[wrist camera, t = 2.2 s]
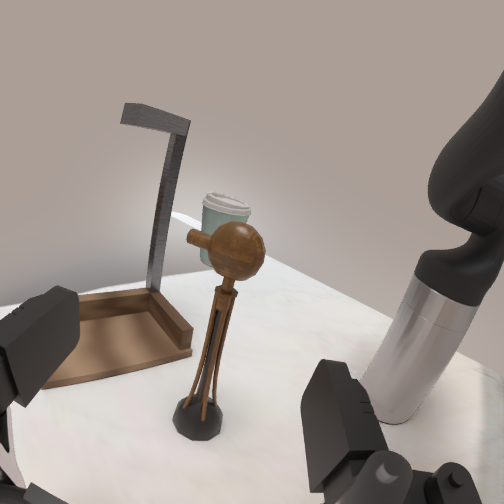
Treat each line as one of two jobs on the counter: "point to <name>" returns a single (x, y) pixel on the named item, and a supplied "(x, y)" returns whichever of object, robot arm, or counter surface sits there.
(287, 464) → the counter surface
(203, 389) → the wooden tabletop sculpture
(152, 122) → the stand
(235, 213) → the disposable coffee cup
